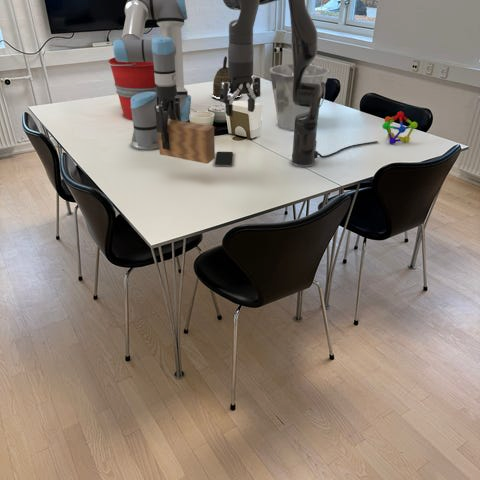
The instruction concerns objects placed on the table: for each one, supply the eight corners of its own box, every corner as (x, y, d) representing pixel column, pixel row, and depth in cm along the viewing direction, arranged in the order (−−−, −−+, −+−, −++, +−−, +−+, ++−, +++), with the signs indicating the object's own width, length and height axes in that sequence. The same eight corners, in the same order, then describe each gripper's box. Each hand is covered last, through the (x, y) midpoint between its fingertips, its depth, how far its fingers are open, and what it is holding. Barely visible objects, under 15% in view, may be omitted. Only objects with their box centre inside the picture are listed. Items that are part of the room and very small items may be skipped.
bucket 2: (296, 138, 215) (301, 78, 201) (255, 124, 234) (256, 68, 219) (335, 125, 232) (342, 70, 217) (294, 113, 251) (297, 61, 236)
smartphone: (214, 164, 185) (216, 151, 198) (214, 166, 185) (216, 152, 198) (232, 164, 185) (233, 151, 198) (232, 166, 185) (233, 153, 198)
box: (159, 154, 172) (156, 122, 165) (168, 149, 176) (165, 118, 169) (207, 163, 164) (206, 131, 158) (214, 158, 169) (214, 126, 162)
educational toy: (377, 146, 209) (379, 114, 202) (384, 138, 219) (386, 107, 211) (411, 149, 202) (415, 116, 195) (417, 141, 212) (420, 109, 204)
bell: (227, 105, 294) (202, 96, 282) (238, 66, 289) (213, 55, 277) (243, 108, 280) (217, 98, 268) (255, 66, 275) (229, 55, 263)
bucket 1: (122, 105, 264) (115, 51, 248) (181, 105, 263) (177, 51, 248) (106, 122, 235) (96, 62, 219) (171, 123, 234) (167, 63, 218)
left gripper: (160, 91, 150) (165, 156, 163) (188, 80, 165) (191, 139, 177) (141, 89, 153) (148, 152, 165) (171, 78, 167) (175, 137, 180)
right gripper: (229, 63, 125) (229, 120, 134) (267, 58, 133) (265, 112, 141) (213, 59, 130) (215, 114, 139) (251, 54, 138) (250, 107, 146)
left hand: (170, 146), depth 171 cm, fingers closed on box, 6 cm apart
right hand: (240, 113), depth 140 cm, fingers open, 8 cm apart
